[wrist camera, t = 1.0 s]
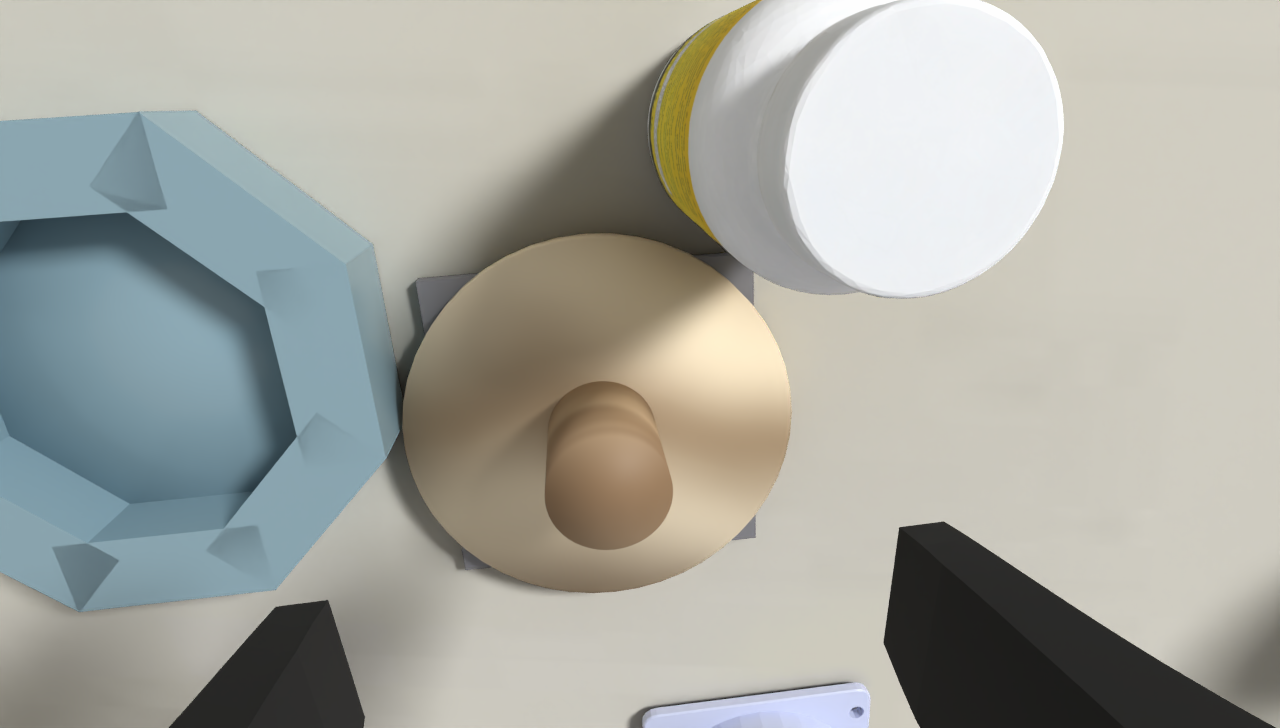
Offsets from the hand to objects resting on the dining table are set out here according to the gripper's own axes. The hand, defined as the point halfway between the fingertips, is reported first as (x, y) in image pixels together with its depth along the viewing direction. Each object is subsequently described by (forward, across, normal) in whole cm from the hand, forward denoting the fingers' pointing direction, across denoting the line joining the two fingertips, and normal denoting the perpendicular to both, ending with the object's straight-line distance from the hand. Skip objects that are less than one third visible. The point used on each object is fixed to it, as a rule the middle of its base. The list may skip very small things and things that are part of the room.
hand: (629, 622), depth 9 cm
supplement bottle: (+12, -5, -4) cm, 14 cm away
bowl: (+12, +11, +1) cm, 16 cm away
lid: (+11, 0, +4) cm, 12 cm away
